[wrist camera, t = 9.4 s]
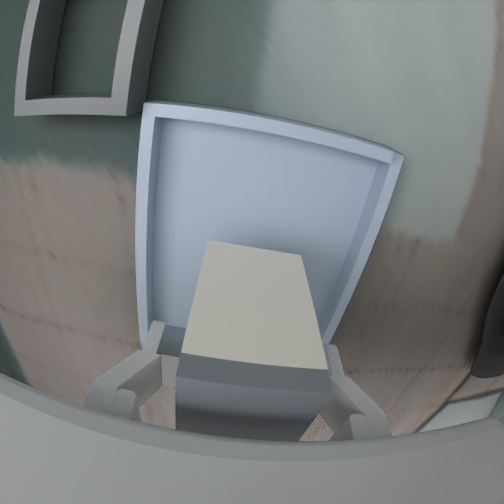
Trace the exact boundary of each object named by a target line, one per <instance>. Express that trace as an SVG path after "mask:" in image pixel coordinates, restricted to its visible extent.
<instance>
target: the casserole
mask: <svg viewBox="0 0 504 504" xmlns="http://www.w3.org/2000/svg"><path fill="white" fill-rule="evenodd" d="M471 373H472V375H473V376H475V377H477V378H491V377H497V376H499V375H502V374H504V272H503V274H502V276H501V278H500V280H499V282H498V285H497V287H496V290H495V292H494V294H493V296H492V299H491V301H490V305H489V308H488V311H487V314H486V317H485V323H484V329H483V334H482V340H481V345H480V347H479V350H478V352H477V354H476V357H475V359H474V362H473V364H472V367H471Z"/></svg>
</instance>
